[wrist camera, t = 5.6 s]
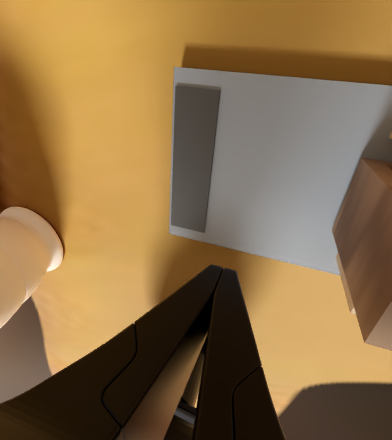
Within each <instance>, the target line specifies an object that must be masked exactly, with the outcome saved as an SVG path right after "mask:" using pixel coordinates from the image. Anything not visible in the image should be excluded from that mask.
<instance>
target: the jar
mask: <svg viewBox="0 0 392 440" xmlns="http://www.w3.org/2000/svg"><path fill="white" fill-rule="evenodd" d="M62 259H63V248H62V244H61V241H60V239H59V237H58V235H57V234H56V232H55V231H54V229H53V228H52V227H51V225H50V224H49V223H48V222H47V221H46V220H45V219H43V218H42V217H41V216H40V215H38V214H36V213H35V212H33V211H31V210H29V209H26V208H23V207H9V208H7V209H5V210H4V211H3V212H2V213H1V214H0V328H1V327H2V326H3V325H4V324H5V323H6V322H7V321H8V320H9V319H10V318H11V317H12V316H13V315H14V313H15V312H16V311H17V310H18V309H19V307H20V306H21V305H22V303H24V302H25V301H26V300H27V299H28V298H29V297H30V296H31V295H32V293H33V292H34V291H35V290H36V289H37V287H38V286H39V284H40V283H41V281H42V280H43V278H44V276H45V274H46V271H51V270H54V269H56V268H57V267H58V266H59V265H60V264H61V262H62Z"/></svg>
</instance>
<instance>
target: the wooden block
mask: <svg viewBox="0 0 392 440" xmlns="http://www.w3.org/2000/svg"><path fill="white" fill-rule="evenodd" d="M332 233H333V236H334V240H335V243H336V247H337V250H338V253H339V257H340V260H341V264H342V267H343V271H344V274H345V278H346V281H347V284H348V288H349V291H350V295H351V298H352V302H353V305H354V309H355V312H356V315H357V319H358V322H359V326H360V329H361V333H362V336H363V340H364V343H367V344H371V345H374V346H377V347H381V348H384V349H388V350H391V351H392V162H387V161H380V160H373V159H367V158H361V159H360V161H359V164H358V166H357V169H356V171H355V173H354V176H353V178H352V181H351V183H350V186H349V188H348V191H347V193H346V196H345V198H344V201H343V203H342V206H341V208H340V210H339V213H338V215H337V218H336V220H335V223H334V225H333V228H332Z"/></svg>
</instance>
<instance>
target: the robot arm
mask: <svg viewBox="0 0 392 440" xmlns="http://www.w3.org/2000/svg"><path fill="white" fill-rule="evenodd" d="M134 324H135V325H134ZM134 324H133V323H132V324H131V325H130V326H128V327H127V328H126V329H124V330H123V331H122V332H120V333H119V334H117V335H116V336H115V337H113V338H112V339H110V340H109V341H107V342H106V343H105V344H103V345H101V346H100V347H98V348H97V349H95V350H94V351H92V352H91V353H89V354H87V355H86V356H84V357H83V358H81V359H79V360H78V361H76V362H74V363H73V364H71V365H69V366H68V367H66V368H64V369H63V370H61V371H59V372H58V373H56V374H55V375H53V376H51V377H50V378H48V379H47V380H45V381H43V382H41V383H40V384H38V385H36V386H35V387H33V388H31V389H30V390H28V391H26V392H24V393H22V394H20V395H19V396H16V397H15V398H12V399H10V400H7V401H5V402H3V403H0V440H286V438H285V436H284V433H283V430H282V428H281V425H280V422H279V420H278V417H277V414H276V411H275V408H274V405H273V402H272V399H271V395H270V392H269V389H268V385H267V382H266V378H265V375H264V371H263V368H262V367H261V366H262V364H261V360H260V357H259V353H258V349H257V345H256V342H255V338H254V334H253V331H252V327H251V323H250V319H249V316H248V312H247V308H246V305H245V301H244V297H243V293H242V290H241V286H240V282H239V279H238V275H237V272H236V271H235V270H232V269H228V268H224V269H223V268H222V267H220V266H216V265H210V266H208V267H207V268H206V269H204V270H203V271H202V272H200V273H199V274H198V275H196V276H195V277H194V278H192V279H191V280H190V281H188V282H187V283H186V284H184V285H183V286H182V287H180V288H179V289H178V290H176V291H175V292H174V293H172V294H171V295H170V296H168V297H167V298H166V299H164V300H163V301H162V302H160V303H159V304H158V305H156V306H155V307H154V308H152V309H151V310H150V311H148V312H147V313H146V314H144V315H143V316H142V317H140V318H139V319H138V320H136V321H135V323H134ZM207 333H208V334H207ZM206 336H207V337H206ZM198 392H199V394H198ZM197 395H198V401H197V407H196V408H195V407H194V406H195V402H196V399H197Z"/></svg>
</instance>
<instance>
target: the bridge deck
mask: <svg viewBox="0 0 392 440" xmlns="http://www.w3.org/2000/svg"><path fill="white" fill-rule="evenodd" d="M361 158H367V159H373V160H380V161H387V162H392V86H390V85H378V84H367V83H355V82H344V81H332V80H321V79H309V78H298V77H286V76H275V75H263V74H252V73H240V72H228V71H217V70H205V69H194V68H182V67H174V86H173V120H172V154H171V189H170V223H169V234H172V235H177V236H181V237H185V238H189V239H193V240H197V241H201V242H205V243H209V244H213V245H218V246H222V247H226V248H230V249H234V250H238V251H242V252H246V253H250V254H254V255H258V256H263V257H267V258H271V259H275V260H279V261H283V262H287V263H291V264H295V265H299V266H304V267H308V268H312V269H316V270H320V271H324V272H328V273H332V274H336V275H340V276H341V280H342V283H343V287H344V291H345V295H346V298H347V302H348V306H349V310H350V313H352V314H355V315H356V312H355V309H354V305H353V302H352V298H351V295H350V291H349V288H348V284H347V281H346V278H345V274H344V271H343V267H342V264H341V260H340V257H339V253H338V250H337V247H336V243H335V240H334V236H333V233H332V228H333V225H334V223H335V220H336V218H337V215H338V213H339V210H340V208H341V206H342V203H343V201H344V198H345V196H346V193H347V191H348V188H349V186H350V183H351V181H352V178H353V176H354V173H355V171H356V169H357V166H358V164H359V161H360V159H361Z"/></svg>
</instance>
